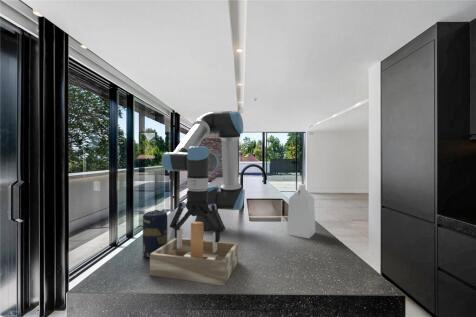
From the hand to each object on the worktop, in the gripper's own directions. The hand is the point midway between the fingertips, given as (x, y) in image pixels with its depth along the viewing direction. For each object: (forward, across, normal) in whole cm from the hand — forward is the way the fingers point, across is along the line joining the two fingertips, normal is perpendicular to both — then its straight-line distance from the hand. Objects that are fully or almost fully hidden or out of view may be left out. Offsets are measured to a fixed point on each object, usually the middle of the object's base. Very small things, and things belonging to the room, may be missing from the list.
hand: (196, 249), depth 89 cm
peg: (+7, 0, 0) cm, 7 cm away
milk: (+7, +37, +53) cm, 65 cm away
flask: (+7, -21, +24) cm, 33 cm away
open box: (+7, 0, 0) cm, 7 cm away
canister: (+7, -21, +7) cm, 23 cm away
